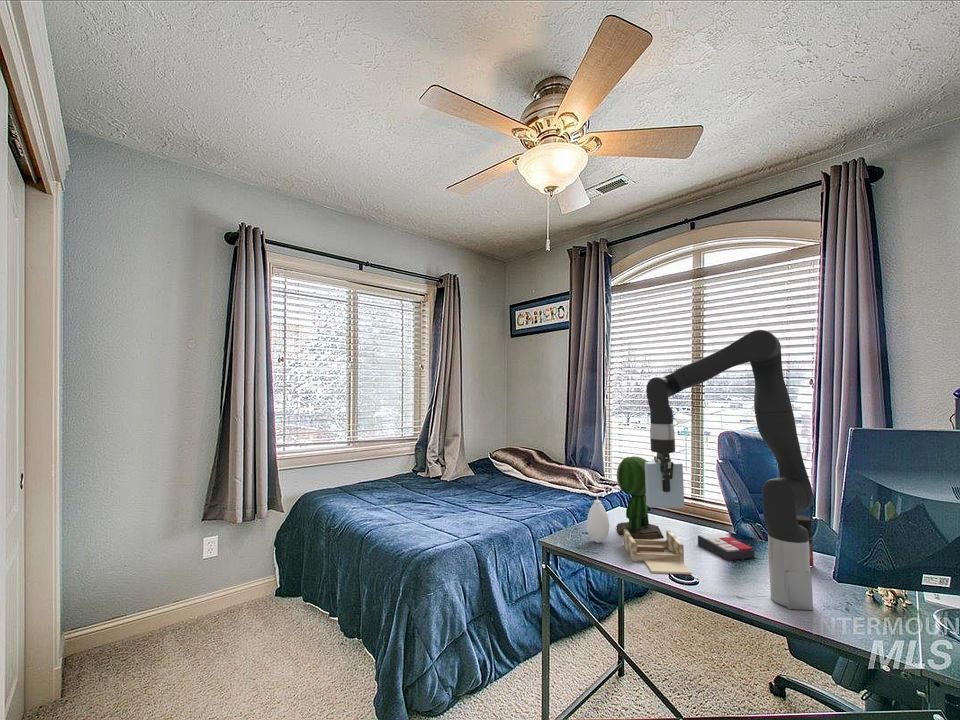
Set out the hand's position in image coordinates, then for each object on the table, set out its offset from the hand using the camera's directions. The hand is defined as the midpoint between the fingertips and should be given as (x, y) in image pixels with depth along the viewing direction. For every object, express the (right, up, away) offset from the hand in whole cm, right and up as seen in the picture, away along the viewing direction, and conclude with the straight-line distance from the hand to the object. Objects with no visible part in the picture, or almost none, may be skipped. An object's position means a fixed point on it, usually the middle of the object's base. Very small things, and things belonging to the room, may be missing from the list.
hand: (664, 490), depth 146 cm
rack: (0, -25, +10) cm, 27 cm away
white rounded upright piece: (-16, -26, +22) cm, 38 cm away
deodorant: (+46, -25, +1) cm, 52 cm away
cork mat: (0, -25, -2) cm, 25 cm away
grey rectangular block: (0, -5, 0) cm, 5 cm away
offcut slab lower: (-1, -25, +5) cm, 26 cm away
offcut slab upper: (-1, -24, +8) cm, 25 cm away
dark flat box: (+27, -26, +12) cm, 39 cm away
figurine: (+3, -27, +33) cm, 42 cm away
